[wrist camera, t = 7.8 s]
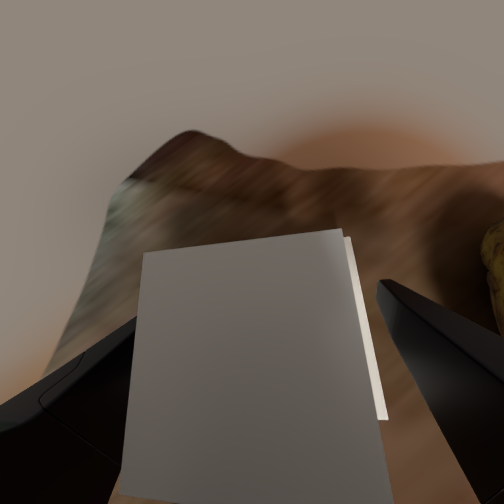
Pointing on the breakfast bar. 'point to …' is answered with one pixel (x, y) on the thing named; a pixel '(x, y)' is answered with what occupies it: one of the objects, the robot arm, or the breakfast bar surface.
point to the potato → (495, 269)
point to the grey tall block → (252, 378)
